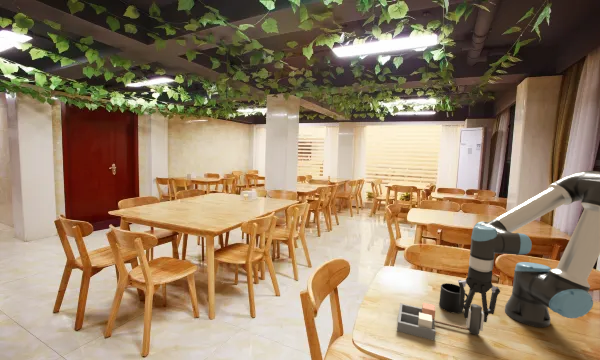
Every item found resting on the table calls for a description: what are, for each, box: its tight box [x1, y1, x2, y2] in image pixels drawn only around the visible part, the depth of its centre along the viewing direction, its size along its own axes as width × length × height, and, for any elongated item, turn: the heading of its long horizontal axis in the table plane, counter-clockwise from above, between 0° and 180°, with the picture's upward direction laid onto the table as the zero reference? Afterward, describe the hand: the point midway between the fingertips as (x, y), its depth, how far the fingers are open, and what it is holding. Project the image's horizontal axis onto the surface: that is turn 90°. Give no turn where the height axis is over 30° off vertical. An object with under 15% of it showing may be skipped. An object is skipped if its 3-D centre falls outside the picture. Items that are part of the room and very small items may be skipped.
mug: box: [438, 282, 468, 314], centre depth 127 cm, size 9×12×9 cm
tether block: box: [421, 302, 483, 335], centre depth 112 cm, size 20×4×10 cm, turn 68°
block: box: [418, 312, 432, 329], centre depth 109 cm, size 4×4×6 cm
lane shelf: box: [396, 302, 437, 341], centre depth 114 cm, size 13×15×4 cm
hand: (474, 327), depth 110 cm, fingers closed on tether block, 3 cm apart
